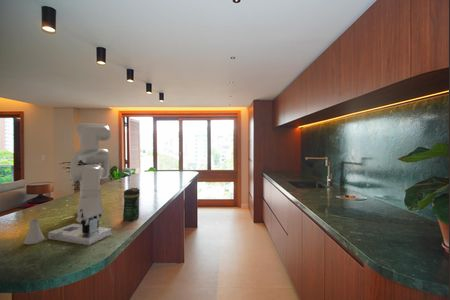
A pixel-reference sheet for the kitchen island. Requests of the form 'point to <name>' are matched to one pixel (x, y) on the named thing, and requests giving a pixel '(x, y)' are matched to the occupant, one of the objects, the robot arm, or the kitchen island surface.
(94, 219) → the plug
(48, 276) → the kitchen island surface
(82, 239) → the panel
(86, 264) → the kitchen island surface
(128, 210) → the coffee jar
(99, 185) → the robot arm
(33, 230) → the flask
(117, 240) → the kitchen island surface
